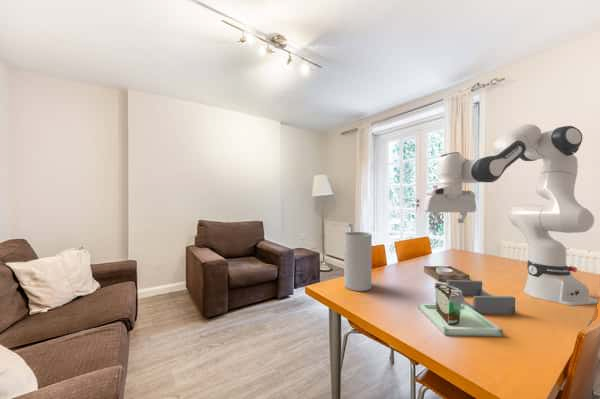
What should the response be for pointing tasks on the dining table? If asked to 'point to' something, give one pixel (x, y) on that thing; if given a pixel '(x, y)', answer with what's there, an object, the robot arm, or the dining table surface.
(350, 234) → the cylinder vase
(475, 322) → the tray
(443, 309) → the food container
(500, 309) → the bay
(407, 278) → the dining table surface
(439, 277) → the shallow brown square box
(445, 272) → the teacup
